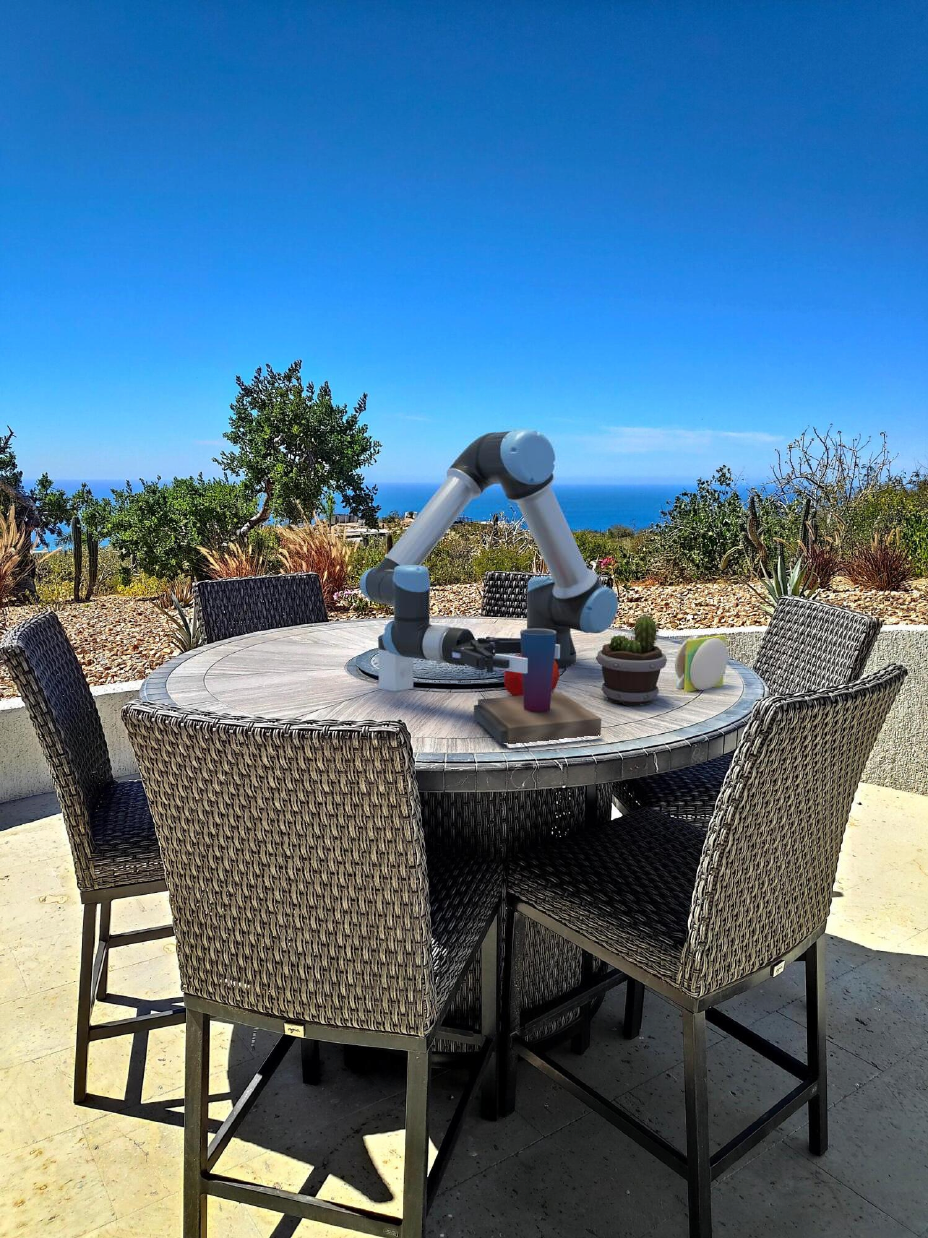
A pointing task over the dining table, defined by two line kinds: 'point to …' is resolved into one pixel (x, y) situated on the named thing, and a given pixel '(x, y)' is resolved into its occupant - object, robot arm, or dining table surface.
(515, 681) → the tomato
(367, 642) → the dining table surface
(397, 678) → the jar
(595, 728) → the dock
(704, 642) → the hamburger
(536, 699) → the cup
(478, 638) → the robot arm
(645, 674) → the flowerpot
